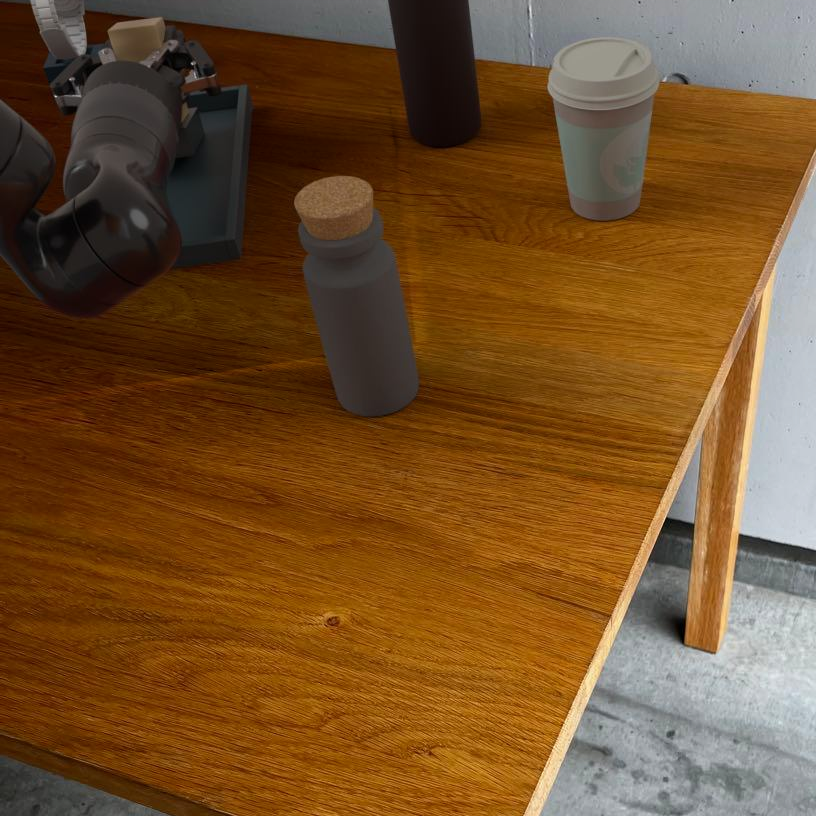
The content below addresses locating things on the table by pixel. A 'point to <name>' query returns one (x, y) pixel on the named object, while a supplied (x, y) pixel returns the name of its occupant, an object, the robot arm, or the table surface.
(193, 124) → the stamp
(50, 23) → the watch
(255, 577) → the table surface
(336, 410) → the table surface
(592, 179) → the coffee cup
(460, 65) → the vinegar
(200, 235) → the tray
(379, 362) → the bottle
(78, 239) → the robot arm
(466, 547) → the table surface
